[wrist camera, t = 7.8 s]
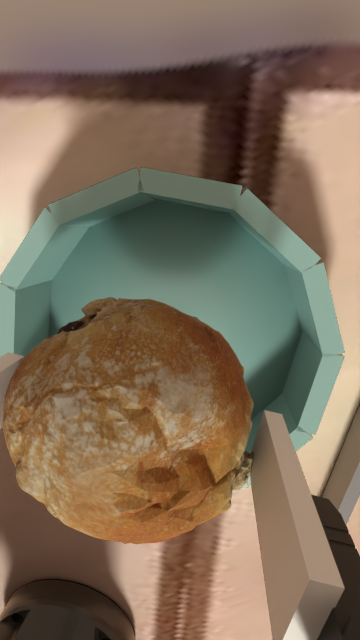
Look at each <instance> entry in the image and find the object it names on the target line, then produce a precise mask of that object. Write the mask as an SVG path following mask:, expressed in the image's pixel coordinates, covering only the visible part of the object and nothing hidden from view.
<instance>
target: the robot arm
mask: <svg viewBox="0 0 360 640" xmlns="http://www.w3.org/2000/svg"><path fill="white" fill-rule="evenodd" d="M24 358H25V356H21V355H17V354H13V353H7V354H5V355H3V356H2V357H0V429H1V428H3V414H4V413H3V407H4V400H5V398H4V397H5V395H6V391H7V388H8V385H9V382H10V379H11V377H12V376H13V374H14V372H15V371H16V369H17V368H18V366H19V365H20V363H21V362H22V361H23V359H24ZM252 451H253V455H254V456H253V463H252V469H251V473H250V479H251V486H252V493H253V501H254V508H255V515H256V522H257V530H258V537H259V544H260V551H261V558H262V566H263V573H264V580H265V587H266V594H267V602H268V609H269V616H270V623H271V631H272V638H273V640H360V556H359V554H358V551H357V549H355V545H354V542H353V540H352V538H351V536H350V535H349V533H348V532H349V531H348V529H347V527H346V524H345V522H344V520H343V517H342V515H341V514H340V512H339V511H338V510H337V509H336V508H335V506H334V505H333V504H332V503H331V501H330V500H329V499H326V498H322V497H318V496H314V495H311V493H310V490H309V488H308V485H307V482H306V479H305V477H304V474H303V471H302V468H301V465H300V463H299V460H298V457H297V454H296V452H295V449H294V446H293V443H292V440H291V438H290V435H289V432H288V429H287V427H286V424H285V421H284V418H283V415H282V414H279V413H275V412H270V411H266V410H264V412H263V415H262V419H261V422H260V425H259V428H258V432H257V435H256V438H255V441H254V444H253V448H252ZM252 451H251V452H252ZM0 640H135V636H134V631H133V628H132V625H131V623H130V621H129V620H128V618H127V617H126V615H125V614H124V613H123V611H122V610H121V609H120V608H119V607H118V606H117V605H116V604H114V603H113V602H112V601H111V600H110V599H108V598H107V597H105V596H104V595H102V594H100V593H99V592H97V591H95V590H93V589H91V588H88V587H86V586H83V585H80V584H76V583H73V582H68V581H61V580H43V581H36V582H33V583H30V584H27V585H25V586H23V587H21V588H20V589H18V590H17V591H16V592H15V593H14V594H13V595H12V596H11V597H10V599H9V601H8V603H7V604H6V606H5V608H4V610H3V612H2V613H1V615H0Z"/></svg>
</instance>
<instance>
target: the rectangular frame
mask: <svg viewBox="0 0 360 640" xmlns="http://www.w3.org/2000/svg"><path fill="white" fill-rule="evenodd" d="M359 495H360V405H359V408H358V410H357V412H356V415H355V417H354V420H353V422H352V425H351V427H350V429H349V432H348V434H347V437H346V439H345V442H344V444H343V447H342V449H341V451H340V454H339V456H338V459H337V461H336V464H335V466H334V468H333V471H332V473H331V476H330V478H329V481H328V483H327V485H326V488H325V490H324V493H323V495H322V498H326V499H329V500H330V501H331V503H332V504H333V505H334V506H335V508H336V509H337V510H338V511H339V512H340V514H341V515H342V517H343V520H344V522H345V524H347V522H348V520H349V517H350V515H351V513H352V511H353V509H354V506H355V504H356V502H357V500H358V498H359Z"/></svg>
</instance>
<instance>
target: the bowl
mask: <svg viewBox="0 0 360 640" xmlns="http://www.w3.org/2000/svg"><path fill="white" fill-rule="evenodd" d="M241 190H242V186H241V185H235V184H230V183H225V182H219V181H214V180H208V179H203V178H198V177H192V176H187V175H182V174H176V173H171V172H165V171H160V170H155V169H149V168H144V167H141V170H140V171H139V170H138V169H137V168H133V169H131V170H129V171H126V172H124V173H122V174H119V175H117V176H115V177H112V178H110V179H108V180H105V181H103V182H100V183H98V184H96V185H93V186H91V187H89V188H86V189H84V190H82V191H79V192H77V193H74V194H72V195H70V196H67V197H65V198H63V199H60V200H58V201H56V202H53V203H51V204H48V206H49V208H44V209H43V211H42V212H41V214H40V215H39V217H38V218H37V220H36V222H35V223H34V225H33V226H32V228H31V229H30V231H29V232H28V234H27V235H26V237H25V239H24V240H23V242H22V243H21V245H20V246H19V248H18V249H17V251H16V253H15V254H14V256H13V257H12V259H11V260H10V262H9V263H8V265H7V266H6V268H5V270H4V271H3V273H2V274H1V276H0V282H1V283H0V357H2V356H3V355H5V354H7V353H13V354H17V355H21V356H25V357H26V356H27V355H28V353H29V352H30V351H31V350H33V349H34V348H35V347H36V346H37V345H39V344H40V343H41V342H42V341H43V340H44V339H46V338H49V337H50V336H51V335H56V334H57V333H58V331H59V329H60V328H61V327H63V326H65V325H67V324H68V323H69V322H73V321H77V320H79V319H81V318H83V317H85V314H84V313H83V311H82V310H81V309H82V308H83V307H84V306H86V305H87V304H88V303H89V302H91V301H94V300H96V299H105V298H108V297H113V298H115V299H116V300H117V299H118V298H124V299H152V300H156V301H159V302H162V303H165V304H167V305H170V306H172V307H174V308H176V309H177V310H179V311H181V312H183V313H185V314H188V315H190V316H192V317H197V318H198V319H199V320H200V321H201V322H204V323H205V324H207V325H209V326H210V327H211V328H213V329H214V330H216V331H219V332H220V333H221V334H222V335H223V337H224V338H225V340H226V341H227V342H228V343H229V344H230V346H231V348H232V349H233V351H234V352H235V354H236V356H237V358H238V360H239V362H240V364H241V366H243V367H244V376H243V377H244V381H245V383H246V385H247V388H248V391H249V393H250V396H251V398H252V401H253V403H254V405H253V410H252V414H251V421H252V427H251V431H250V434H249V438H248V441H247V445H246V448H245V450H244V453H245V452H246V451H247V452H248V453H249V454H250V453H251V451H252V448H253V444H254V441H255V438H256V435H257V432H258V428H259V425H260V422H261V419H262V415H263V412H264V410H266V411H270V412H275V413H279V414H282V415H283V418H284V421H285V424H286V427H287V429H288V432H289V435H290V438H291V440H292V443H293V446H294V449H295V452H296V451H297V450H298V449H300V448H301V447H302V446H303V445H305V444H306V443H307V442H308V441H310V440H311V439H312V438H313V437H312V435H311V434H314V435H316V432H317V429H318V427H319V424H320V421H321V419H322V416H323V413H324V411H325V408H326V405H327V403H328V400H329V397H330V394H331V392H332V389H333V386H334V384H335V381H336V378H337V376H338V373H339V370H340V368H341V365H342V362H343V360H344V356H343V355H342V354H341V353H345V351H344V347H343V342H342V338H341V334H340V330H339V325H338V321H337V317H336V313H335V308H334V304H333V300H332V295H331V291H330V287H329V283H328V278H327V274H326V270H325V266H324V262H320V261H319V260H320V259H321V257H320V256H318V255H317V254H316V253H315V252H314V251H313V250H312V249H311V248H310V247H309V246H308V245H307V244H306V243H305V242H304V241H303V240H302V239H300V238H299V237H298V236H297V235H296V234H295V233H294V232H293V231H292V230H291V229H290V228H289V227H288V226H287V225H286V224H285V223H284V222H282V221H281V220H280V219H279V218H278V217H277V216H276V215H275V214H274V213H273V212H272V211H271V210H270V209H269V208H268V207H267V206H265V205H264V204H263V203H262V202H261V201H260V200H259V199H258V198H257V197H256V196H255V195H254V194H253V193H252V192H251V191H250V190H249V189H246V190H245V191H244V193H243V194H242V195H241ZM240 195H241V196H240ZM248 483H249V484H250V485H251V479H250V475H249V478H248V481H247V482H246V483H245V485H244V486H243V487H242V488H241V489H243V488H248ZM232 491H233V490H232Z"/></svg>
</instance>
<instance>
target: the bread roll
mask: <svg viewBox="0 0 360 640" xmlns="http://www.w3.org/2000/svg"><path fill="white" fill-rule="evenodd" d="M81 310H82V311H83V313H84V314H85V317H83V318H81V319H79V320H77V321H73V322H69V323H68V324H67V325H65V326H63V327H61V328H60V329H59V331H58V333H57V334H56V335H51V336H50V337H49V338H46V339H44V340H43V341H42V342H41V343H40V344H39V345H37V346H36V347H35V348H34V349H33V350H31V351H30V352H29V353H28V355H27V356H26V357H25V358H24V359H23V361H22V362H21V363H20V365H19V366H18V368H17V369H16V371H15V372H14V374H13V376H12V377H11V379H10V382H9V385H8V388H7V391H6V395H5V397H4V398H5V400H4V407H3V413H4V414H3V433H4V437H5V441H6V446H7V448H8V451H9V454H10V457H11V459H12V461H13V463H14V465H15V467H16V473H15V475H16V479H17V483H18V485H19V487H20V488H21V489H22V490H23V491H25V492H27V493H28V494H30V495H31V496H32V497H34V498H35V499H36V500H38V501H39V502H41V503H43V504H44V505H45V506H46V508H47V510H48V512H50V513H51V514H52V515H53V516H54V517H56V518H57V519H59V520H60V521H61V522H62V523H63V524H64V525H66V526H69V527H71V528H73V529H75V530H78V531H80V532H82V533H84V534H87V535H89V536H91V537H95V538H98V539H103V540H108V541H118V542H122V543H125V544H126V543H133V544H142V543H156V542H162V541H165V540H168V539H171V538H174V537H176V536H178V535H180V534H182V533H185V532H188V531H191V530H192V529H193V528H194V527H195V526H196V525H199V524H201V523H203V522H206V521H208V520H210V519H212V518H213V517H215V516H216V515H219V514H221V513H223V512H225V511H227V510H229V509H230V507H231V500H230V499H231V497H232V490H240V489H241V488H242V487H243V486H244V485H245V483H246V482H247V481H248V478H249V475H250V473H251V469H252V463H253V456H254V455H253V451H252V452H251V453H250V454H249V453H248V452H247V451H246V452H245V453H244V450H245V448H246V445H247V441H248V438H249V434H250V431H251V427H252V421H251V414H252V410H253V405H254V403H253V401H252V398H251V396H250V393H249V391H248V388H247V385H246V383H245V381H244V377H243V376H244V367H243V366H241V364H240V362H239V360H238V358H237V356H236V354H235V352H234V351H233V349H232V348H231V346H230V344H229V343H228V342H227V341H226V340H225V338H224V337H223V335H222V334H221V333H220V332H219V331H216V330H214V329H213V328H211V327H210V326H209V325H207V324H205V323H204V322H201V321H200V320H199V319H198V318H197V317H192V316H190V315H188V314H185V313H183V312H181V311H179V310H177V309H176V308H174V307H172V306H170V305H167V304H165V303H162V302H159V301H156V300H152V299H124V298H118V299H117V300H116V299H115V298H113V297H108V298H105V299H96V300H94V301H91V302H89V303H88V304H87V305H86V306H84V307H83V308H82V309H81Z"/></svg>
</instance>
